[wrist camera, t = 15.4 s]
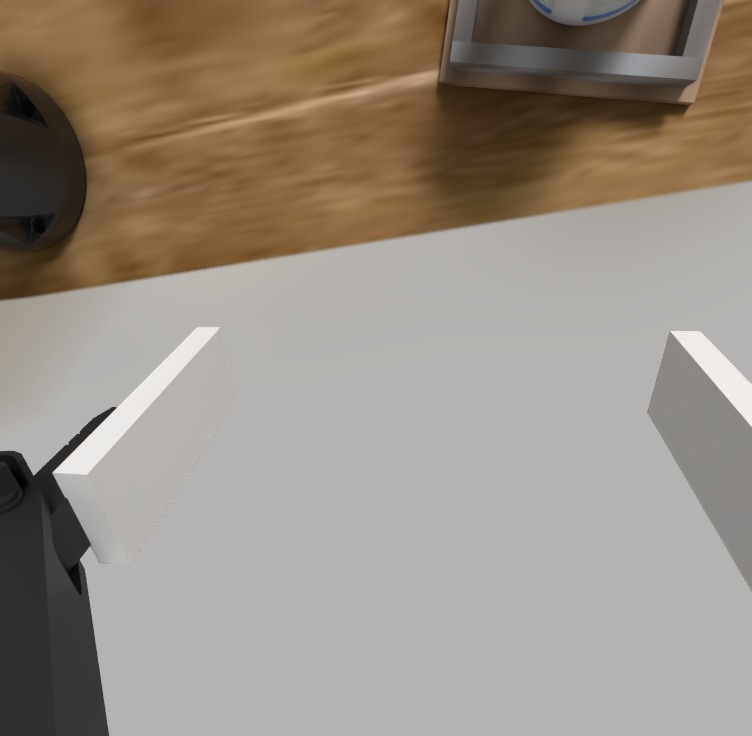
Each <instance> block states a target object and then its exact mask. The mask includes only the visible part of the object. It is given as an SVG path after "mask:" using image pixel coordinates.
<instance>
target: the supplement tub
mask: <svg viewBox="0 0 752 736" xmlns="http://www.w3.org/2000/svg"><path fill="white" fill-rule="evenodd" d="M529 1H530V3H531V4H532V5H533V6H534V7H535V8H536V9H537V10H538V11H539V12H540V13H541V14H543V15H544V16H546V17H547V18H549V19H551V20H553V21H555V22H558V23H561V24H565V25H572V26H585V25H591V24H596V23H600V22H603V21H606V20H609V19H611V18H614V17H616V16H618V15H620V14H622V13H623V12H625V11H626V10H628V9H629V8H631V7H632V6H633V5H635V4H636V3H637V2H639V1H640V0H529Z"/></svg>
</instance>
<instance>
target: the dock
mask: <svg viewBox="0 0 752 736" xmlns="http://www.w3.org/2000/svg"><path fill="white" fill-rule="evenodd" d="M723 3H724V0H640V1H639V2H637V3H636V4H635V5H633V6H632V7H631V8H629V9H628V10H626V11H625V12H623V13H622V14H620V15H618V16H616V17H614V18H611V19H609V20H606V21H603V22H600V23H596V24H591V25H585V26H572V25H565V24H561V23H558V22H555V21H553V20H551V19H549V18H547V17H546V16H544V15H543V14H541V13H540V12H539V11H538V10H537V9H536V8H535V7H534V6H533V5H532V4H531V3H530V1H529V0H450V7H449V14H448V21H447V28H446V35H445V42H444V49H443V56H442V63H441V70H440V77H439V83H440V85H452V86H464V87H476V88H488V89H500V90H512V91H524V92H536V93H548V94H560V95H572V96H584V97H596V98H608V99H620V100H632V101H645V102H657V103H669V104H681V105H691V104H693V103H694V102H695V99H696V95H697V92H698V89H699V85H700V82H701V78H702V75H703V71H704V68H705V65H706V61H707V58H708V54H709V51H710V48H711V44H712V41H713V37H714V34H715V30H716V27H717V24H718V20H719V17H720V13H721V10H722V7H723Z"/></svg>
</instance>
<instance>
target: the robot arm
mask: <svg viewBox="0 0 752 736" xmlns="http://www.w3.org/2000/svg"><path fill="white" fill-rule="evenodd" d="M85 189H86V177H85V167H84V161H83V156H82V152H81V148H80V145H79V142H78V140H77V137H76V135H75V133H74V130H73V128H72V126H71V125H70V123H69V121H68V119H67V118H66V116H65V115H64V113H63V112H62V110H61V109H60V108H59V106H58V105H57V104H56V103H55V102H54V101H53V99H52V98H51V97H50V96H49V95H48V94H46V93H45V92H44V91H43V90H42V89H40V88H39V87H38V86H36V85H35V84H33V83H32V82H30V81H28V80H26V79H24V78H21V77H18V76H16V75H12V74H9V73H5V72H2V71H0V250H5V251H29V250H40V249H45V248H48V247H51V246H53V245H55V244H57V243H58V242H60V241H61V240H62V239H64V238H65V237H66V236H67V235H68V234H69V233H70V231H71V230H72V229H73V227H74V226H75V224H76V222H77V220H78V218H79V216H80V213H81V210H82V207H83V203H84V198H85ZM237 401H238V398H237V394H236V390H235V386H234V382H233V378H232V374H231V369H230V365H229V361H228V357H227V352H226V348H225V344H224V340H223V336H222V332H221V328H220V327H197V328H196V329H195V330H194V331H193V332H192V333H191V334H190V335H189V336H188V337H187V338H186V339H185V340H184V341H183V342H182V343H181V344H180V345H179V346H178V347H177V348H176V349H175V350H174V351H173V352H172V353H171V354H170V355H169V356H168V357H167V358H166V359H165V360H164V361H163V362H162V363H161V364H160V365H159V366H158V367H157V368H156V369H155V370H154V371H153V372H152V373H151V374H150V375H149V376H148V377H147V378H146V379H145V380H144V381H143V382H142V383H141V384H140V385H139V387H137V388H136V389H135V390H134V391H133V392H132V393H131V394H130V395H129V396H128V398H126V399H125V400H124V401H123V402H122V403H121V404H120V405H119V406H118V407H112V408H110V409H109V410H107V411H105V412H103V413H102V414H100V415H98V416H97V417H95V418H93V419H92V420H91V421H90V422H89V423H88V424H87V425H86V426H85V427H84V428H83V429H82V430H81V431H80V434H77V435H76V436H75V437H74V438H73V439H71V440H70V441H69V445H65V446H64V447H63V448H62V449H61V450H60V451H59V452H58V453H57V454H56V455H55V456H54V457H53V458H52V459H51V460H50V461H49V462H48V463H47V464H46V465H45V466H44V467H42V469H40V470H39V472H37V473H36V474H35V475H34V476H33V474H32V472H31V470H30V469H29V467H28V465H27V463H26V461H25V459H24V458H23V456H22V454H21V453H18V452H15V451H0V736H109V732H108V726H107V719H106V712H105V705H104V698H103V691H102V684H101V677H100V670H99V663H98V657H97V650H96V643H95V636H94V630H93V623H92V615H91V609H90V602H89V595H88V588H87V582H86V574H85V569H84V567H83V565H82V563H81V562H80V558H81V557H82V556H83V554H84V553H85V552H86V550H87V549H88V548H89V546H91V548H92V550H93V552H94V554H95V556H96V558H97V560H98V562H99V563H104V564H116V565H129V566H130V565H131V563H132V562H133V560H134V559H135V557H136V556H137V554H138V553H139V551H140V550H141V548H142V547H143V545H144V543H145V542H146V540H147V539H148V537H149V536H150V534H151V533H152V531H153V530H154V528H155V527H156V525H157V523H158V522H159V520H160V519H161V517H162V516H163V514H164V513H165V511H166V510H167V508H168V506H169V505H170V503H171V502H172V500H173V499H174V497H175V496H176V494H177V493H178V491H179V490H180V488H181V487H182V485H183V483H184V482H185V480H186V479H187V477H188V476H189V474H190V473H191V471H192V470H193V468H194V467H195V465H196V464H197V462H198V460H199V459H200V457H201V456H202V454H203V453H204V451H205V450H206V448H207V447H208V445H209V444H210V442H211V440H212V439H213V437H214V436H215V434H216V433H217V431H218V429H219V428H220V427H221V425H222V424H223V422H224V421H225V419H226V417H227V416H228V414H229V413H230V411H231V410H232V408H233V407H234V405H235V404H236V402H237ZM647 413H648V414H649V416H650V418H651V419H652V421H653V423H654V425H655V426H656V428H657V430H658V431H659V433H660V435H661V436H662V438H663V440H664V442H665V444H666V445H667V446H668V449H669V450H670V452H671V454H672V456H673V457H674V459H675V461H676V462H677V464H678V466H679V468H680V469H681V471H682V473H683V474H684V476H685V478H686V479H687V481H688V483H689V485H690V487H691V488H692V490H693V492H694V493H695V495H696V497H697V499H698V500H699V502H700V504H701V505H702V507H703V509H704V510H705V512H706V514H707V516H708V517H709V519H710V521H711V523H712V524H713V526H714V528H715V529H716V531H717V533H718V535H719V536H720V538H721V540H722V541H723V543H724V545H725V547H726V548H727V550H728V552H729V554H730V555H731V557H732V559H733V560H734V562H735V564H736V566H737V567H738V569H739V571H740V573H741V574H742V576H743V578H744V579H745V581H746V583H747V585H748V586H749V588H750V590H751V591H752V384H750V382H749V381H748V380H747V379H746V378H745V377H744V376H743V375H742V374H741V373H740V372H739V371H738V370H737V369H736V368H735V367H734V366H733V365H732V364H731V363H730V362H729V361H728V360H727V359H726V358H725V357H724V356H723V355H722V353H721V352H720V351H719V350H718V349H717V348H716V347H715V346H714V345H713V344H712V343H711V342H710V341H709V340H708V339H707V338H706V337H705V336H704V335H703V334H702V333H701V332H700V331H670V333H669V336H668V340H667V343H666V347H665V350H664V354H663V358H662V361H661V365H660V368H659V372H658V376H657V379H656V383H655V386H654V390H653V393H652V397H651V401H650V404H649V408H648V411H647Z"/></svg>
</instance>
